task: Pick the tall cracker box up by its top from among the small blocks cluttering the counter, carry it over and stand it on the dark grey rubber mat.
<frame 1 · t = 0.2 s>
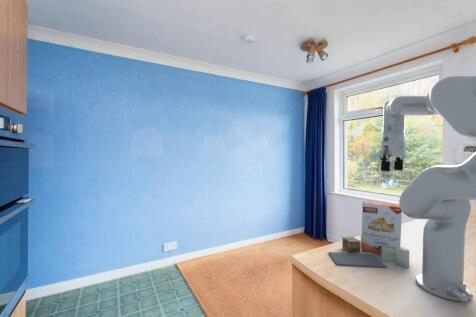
hand: (391, 170, 93), 35 cm above the worktop, tool pointing down, fingers open, 9 cm apart
walnut block: (351, 250, 97), on the worktop
grey rounded capsule: (401, 264, 84), on the worktop
sage block: (387, 258, 89), on the worktop
cracker box: (379, 251, 96), on the worktop
mat: (355, 260, 87), on the worktop
terracotta block: (367, 244, 103), on the worktop
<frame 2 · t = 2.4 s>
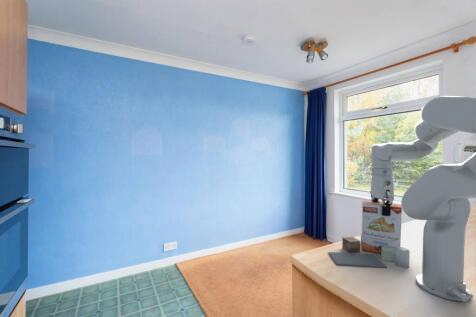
hand: (380, 212, 95), 17 cm above the worktop, tool pointing down, fingers closed on cracker box, 7 cm apart
cracker box: (379, 251, 96), on the worktop, touching gripper
everything else where it was.
when the fingers open (18 cm above the worktop, at t = 8.8 s): cracker box stays where it is, resting on mat.
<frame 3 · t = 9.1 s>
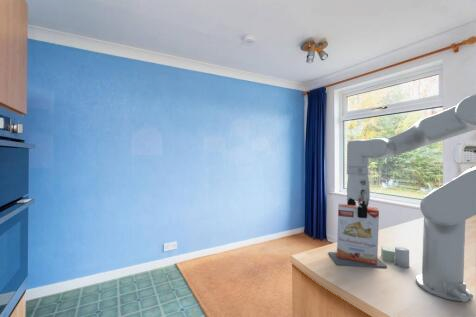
hand: (356, 214, 87), 18 cm above the worktop, tool pointing down, fingers open, 9 cm apart
cracker box: (356, 259, 87), resting on mat
everything else where it was.
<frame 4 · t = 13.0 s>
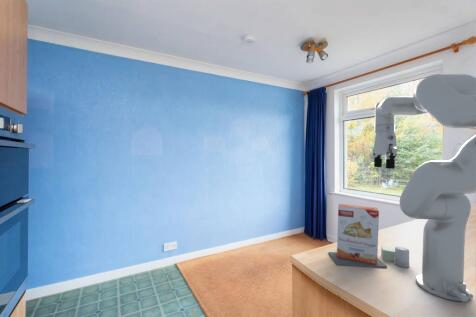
hand: (383, 167, 98), 36 cm above the worktop, tool pointing down, fingers open, 9 cm apart
nothing on the worktop moved.
at the end: cracker box inside the target area on the mat (0.2 cm from its centre), point 0.4 cm above the mat's base; cracker box tilted 0°; the gripper is holding nothing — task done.
